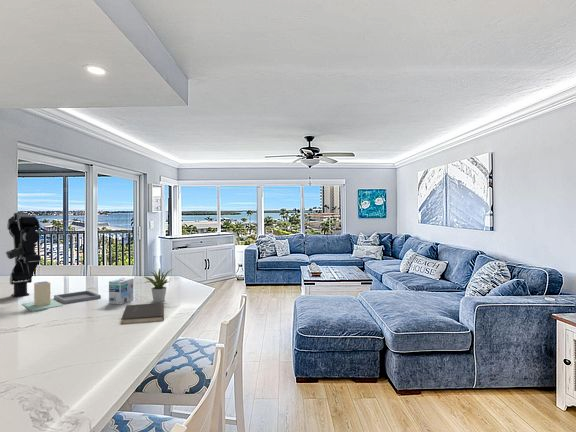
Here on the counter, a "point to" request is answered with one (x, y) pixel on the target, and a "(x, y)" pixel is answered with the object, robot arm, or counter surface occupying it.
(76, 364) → the counter surface
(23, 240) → the robot arm
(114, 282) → the light bulb box
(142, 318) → the hardcover book
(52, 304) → the mat
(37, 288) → the carton
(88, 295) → the parts tray
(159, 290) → the house plant
